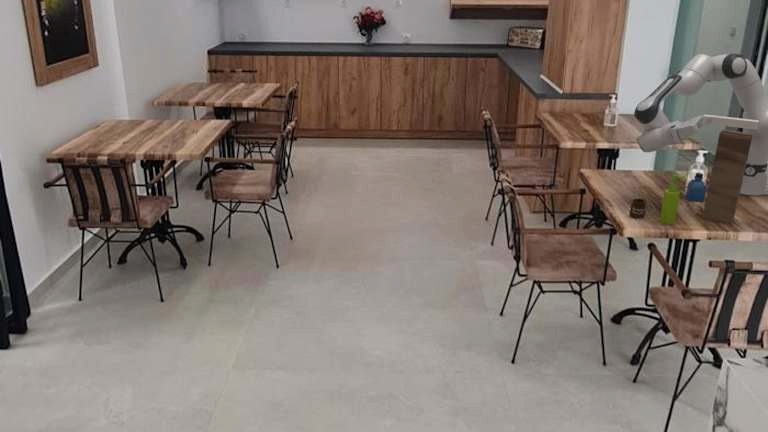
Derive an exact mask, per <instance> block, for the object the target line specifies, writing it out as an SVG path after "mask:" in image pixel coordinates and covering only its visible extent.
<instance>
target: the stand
mask: <svg viewBox="0 0 768 432" xmlns="http://www.w3.org/2000/svg"><path fill="white" fill-rule="evenodd" d="M718 135H719V136H718V140H717V144H716V149H715V153H714V154H715V156H714V158H713V163H712V169H711V174H710V177H709V183H708V189H707V191H706V193H707V194H706V196H705V197H706V198H705V202H704V207H703V212H702V217H701V219H702V220H705V221H710V222H715V223H720V224H725V225H731V226H732V224H733V222H734V220H735V217H736V213H737V208H738V203H739V199H740V195H741V194H740V190H741V186H742V181H743V177H744V172H745V168H746V164H747V159H748V154H749V149H750V145H751V140H752V136H753V133H745V132H742V131H736V130H728V129H722V130H721V131H720V132H719V134H718Z"/></svg>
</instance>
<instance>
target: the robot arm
mask: <svg viewBox="0 0 768 432" xmlns="http://www.w3.org/2000/svg"><path fill="white" fill-rule="evenodd" d="M728 80H729V83H730V84H731V88H732V90H733V92H734V94H735V96H736V98H737V101H738V103H739V105H740V106H741V108H742V109H743V113H742V117H741V119H750V120H759V124H758V128H757V130H755V129H747V128H742V131H743V132H745V133H753V136H752V140H751V145H750V149H749V154H748V159H747V164H746V168H745V172H744V177H743V181H742V186H741V190H740V195H747V196H768V175H767V174H766V172H767V169H768V93H767V91H766V89H765V86H764V85H763V84H764V83H762V80H761V77H760V76H759V74H758V71H757V69H756V68H755V66H754V65H753V63H752V62H751V60H749V59H747V58H745V57H744V56H743V55H742V54H739V53H729V54H727V53H726V54H725V53H724V54H719V55H715V56H710V55H708V54H705V53H700V54H697V55H695V56H693V57H692V58H691V59H690V60H689V61H688V62H687V63H686V64H685V65H684V67H683V68H682V69H681V70H680V72H678V74H676V73H675V74H672V75H670V76H669V77H667V78H666V79H664V81H663V82H662V83H660V84H659V86H657V87H656V88H655V89H654V90H653V92H651V93H650V94H649V95H648V96H647V97H646V98H645V99H643V100H641V102H639V103H638V104H637V105H636V106H635V109H634V113H633V115H634V116H633V117H634V118H635V119H636V120H637V121H638V122H639V123H640V125H642V127H643V131H642V133H641V134H640V135H639V136H637V138H636V141H637V144H638V146H639V148H640V149H641V151H642V152H644V153H652V152H657V151H659V150H662V149H665V148H666V147H669V146H674V145H677V144H679V143H682V142H685V141H686V139H688V138H689V137H691V136H694V135H696V134H697V133H699V131H700V130H701V129H702V127H705V126H707V125H710V124H709V123H711V122H712V119H711V118H708V119H706V120H703V116H704V115H701V114H700V115H698V116H695V117H693V118H689V119H688V120H686V121H680V120H679V119H677V120H675V121H673V122H670V120H669V119H668V117H667V115H665V113H664V111H663V109H662V108H661V105H662V102H664V100H666V98H667V97H669V96H670V94H672V93H673V92H674V93H675V94H677V95H681V96H686V97H687V96H688V97H690V96H693V95H694V96H695V95H696V94H697V93H699V92H700V90H702V87H704V85H705V83H706V82H708V83H710V82H711V83H712V82H723V81H728ZM702 120H703V121H702Z"/></svg>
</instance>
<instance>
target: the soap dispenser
mask: <svg viewBox="0 0 768 432" xmlns="http://www.w3.org/2000/svg"><path fill="white" fill-rule="evenodd" d="M670 177H672V179H671V181H668V182H669V183H668V188H667V189H664V190H663V196H662V202H661V208H660V211H659V212H660V213H659V219H658V222H660V223H661V222H662V224H664V223H665V225H673V224H675V222H676V221H675V220H676V218H677V211H678V206H679V201H680V195H681V192H680V191H679V190H678V188H679V183H678V182H677V180H678V179H682V180H685V179H686V178H687V177H686V176H684V175H681V174H674V173H672V174H671V175H670Z"/></svg>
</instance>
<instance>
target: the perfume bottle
mask: <svg viewBox="0 0 768 432" xmlns="http://www.w3.org/2000/svg"><path fill="white" fill-rule="evenodd" d="M705 185H706V184H705V183H704V173H703V172H702V173H701V172H696V173H695V175H694V177H693V179H691V180H690V181H689V182H688V183H687V187H686V188H687V189H686V192H685V198H686V199H687V201H688V202H693V203H705V202H704V201H705V199H706V198H705V197H706V193H707V188H706V186H705Z"/></svg>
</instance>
